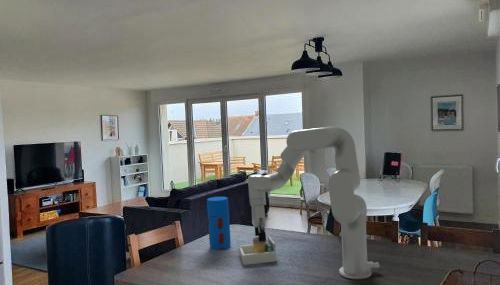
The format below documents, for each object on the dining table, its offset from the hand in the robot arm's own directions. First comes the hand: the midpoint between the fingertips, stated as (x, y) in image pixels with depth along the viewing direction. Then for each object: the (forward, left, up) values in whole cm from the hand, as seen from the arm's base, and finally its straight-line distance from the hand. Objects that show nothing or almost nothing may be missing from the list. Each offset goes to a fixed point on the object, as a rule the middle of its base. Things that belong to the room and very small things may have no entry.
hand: (260, 238), depth 178 cm
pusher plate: (-3, 0, -8) cm, 9 cm away
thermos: (+17, -22, -9) cm, 30 cm away
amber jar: (+1, 0, -8) cm, 8 cm away
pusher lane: (+2, 0, -9) cm, 9 cm away
